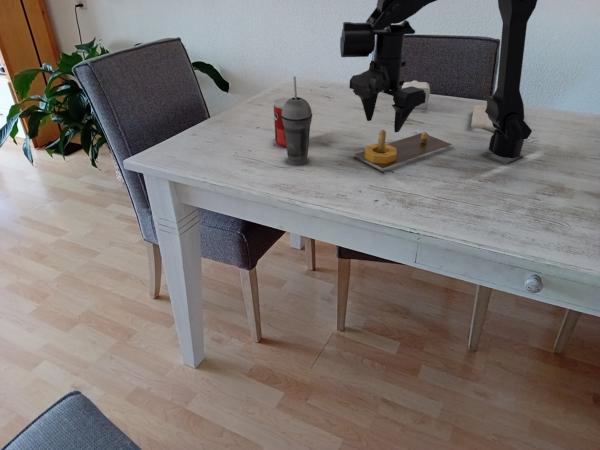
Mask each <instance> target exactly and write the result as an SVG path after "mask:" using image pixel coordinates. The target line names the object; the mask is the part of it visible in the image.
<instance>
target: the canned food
mask: <svg viewBox="0 0 600 450" xmlns="http://www.w3.org/2000/svg"><path fill="white" fill-rule="evenodd" d="M291 98H292V97H280V98H278V99H275V100H274V101H273V120H274V121H273V122H274V139H275V143H276V144H277V146H279V147H281V148H286V149H287V147H286V139H285V130H284V125H283V121H282V117H281V114H282V108H283V106H284V104H285V103H286V102H287V101H288V100H289V99H291Z"/></svg>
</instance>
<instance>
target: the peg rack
mask: <svg viewBox="0 0 600 450" xmlns="http://www.w3.org/2000/svg"><path fill="white" fill-rule="evenodd" d="M386 137H387V132H386V130H384V129H381V130H379V132H378V139H377V141H378V142H377V144H378V151H377V153H384V149H385V144H387V145H390V146H392V147H394V148H396V149H397V154H396V161H393V162H390V163H387V164H384V163H373V162H371V161H369V160H367V159H365V150H363V151H360V152H357V153H354V155H355V156H354V157H353V159H354V160H355V161H358V162H360V163H362V164H364V165H366V166H368V167H369V168H371V169H374V170H375V171H378V172H379V173H381V174H384V172H385V171H384V170H381V169H386V168H389V167H392V166H394V165H397V164H401V163H403V162H406V161H409V160H411V159H414V158H417V157H420V156H423V155H426V154H428V153H432V152H434V151H438V150H440V149H442V148H446V147H448V146H452V143H450V142H447V141H444V140H442V139H439V138H438V137H434V136H432V135H429V134H428V132H425V131H424V132H420V133H417V134H414V135H410V136H408V137H407V136H406V137H405V138H402V139H397V140H395V141H392V142H389V143H386ZM356 156H357V157H359V158H357V157H356ZM360 158H361V159H362V160H361V159H360ZM363 160H365V161H363ZM366 161H367V162H369V163H371V164H373V165H374V166H373V165H371V164H369V163H367V162H366ZM375 166H376V167H375ZM377 167H378V168H377ZM379 168H380V169H379Z"/></svg>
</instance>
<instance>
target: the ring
mask: <svg viewBox="0 0 600 450" xmlns="http://www.w3.org/2000/svg"><path fill="white" fill-rule="evenodd" d="M387 144H388V143H385V149H384V153H377V151H378V143H374V144H370V145H367V146H365V149H364V151H365V159H367V160H369V161H371V162H373V163H384V164H387V163H390V162H393V161H396V154H397V149H396V148H394V147H392V146H390V145H387Z"/></svg>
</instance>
